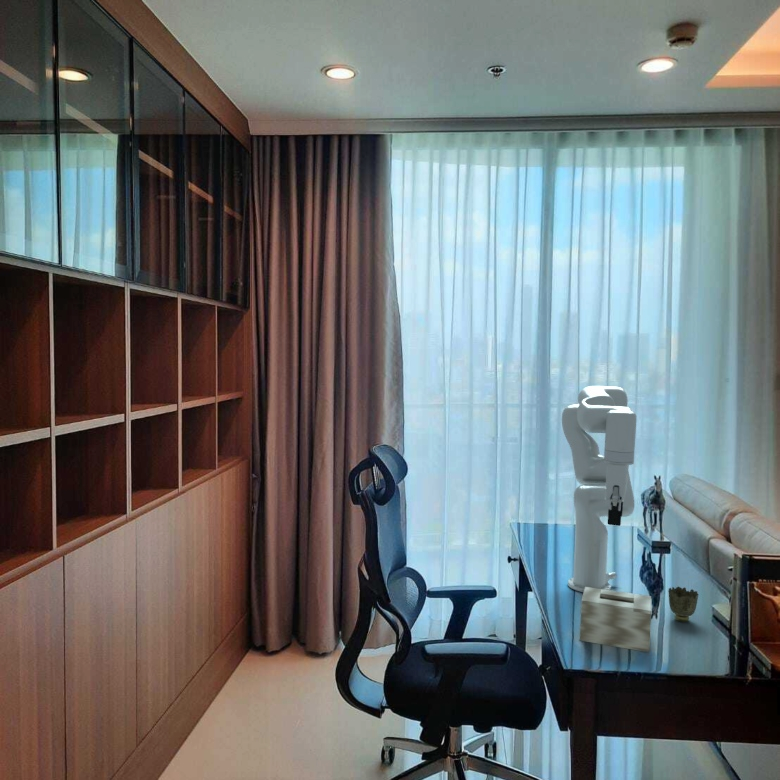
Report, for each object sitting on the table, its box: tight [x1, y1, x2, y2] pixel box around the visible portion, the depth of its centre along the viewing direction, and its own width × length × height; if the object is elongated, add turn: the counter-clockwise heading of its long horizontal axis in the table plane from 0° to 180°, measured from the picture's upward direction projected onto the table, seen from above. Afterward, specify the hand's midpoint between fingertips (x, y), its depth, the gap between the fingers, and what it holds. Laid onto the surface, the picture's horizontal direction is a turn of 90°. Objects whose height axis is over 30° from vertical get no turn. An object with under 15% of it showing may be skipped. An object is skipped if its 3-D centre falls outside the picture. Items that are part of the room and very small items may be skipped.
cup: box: [668, 586, 699, 623], centre depth 182 cm, size 8×7×8 cm
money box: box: [579, 587, 652, 653], centre depth 168 cm, size 16×11×10 cm
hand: (615, 520), depth 180 cm, fingers open, 9 cm apart
